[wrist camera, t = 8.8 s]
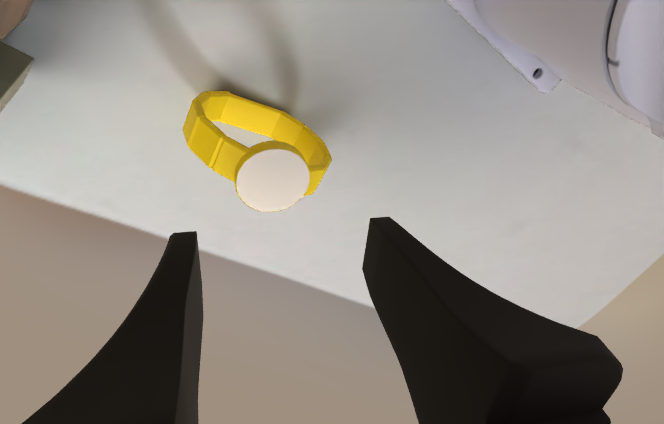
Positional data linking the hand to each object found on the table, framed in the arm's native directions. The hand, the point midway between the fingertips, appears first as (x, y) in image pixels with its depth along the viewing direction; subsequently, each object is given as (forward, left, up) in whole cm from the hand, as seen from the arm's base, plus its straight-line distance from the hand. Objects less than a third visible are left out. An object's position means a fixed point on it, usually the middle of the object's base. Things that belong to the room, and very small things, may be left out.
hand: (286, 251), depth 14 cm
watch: (0, 0, -10) cm, 10 cm away
